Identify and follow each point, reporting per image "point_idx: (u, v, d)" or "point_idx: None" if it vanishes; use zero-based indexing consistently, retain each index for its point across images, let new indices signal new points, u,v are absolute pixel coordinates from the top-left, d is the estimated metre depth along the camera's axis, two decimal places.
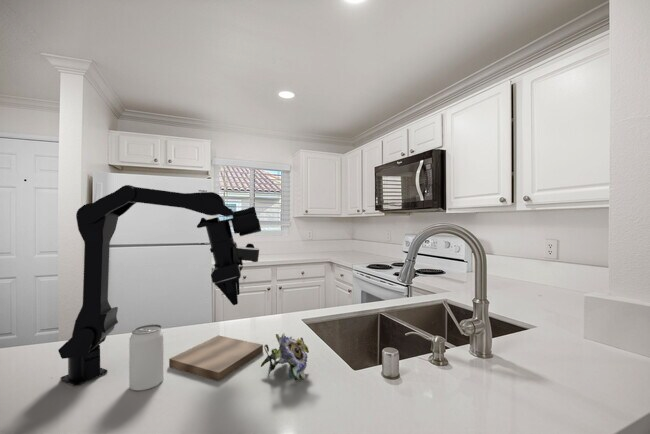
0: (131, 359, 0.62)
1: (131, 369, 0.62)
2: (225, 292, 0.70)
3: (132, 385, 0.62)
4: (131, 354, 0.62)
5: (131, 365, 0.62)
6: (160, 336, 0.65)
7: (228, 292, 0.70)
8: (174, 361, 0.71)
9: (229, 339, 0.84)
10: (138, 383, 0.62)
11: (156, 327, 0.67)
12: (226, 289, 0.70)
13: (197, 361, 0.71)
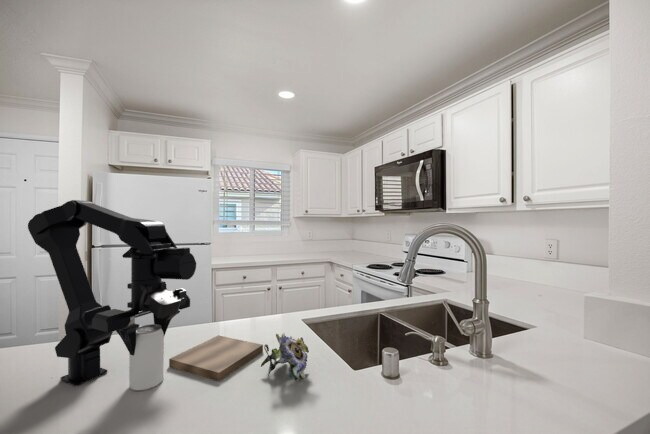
0: (131, 359, 0.62)
1: (131, 369, 0.62)
2: (122, 337, 0.62)
3: (132, 385, 0.62)
4: None
5: (131, 365, 0.62)
6: (160, 336, 0.65)
7: (124, 339, 0.61)
8: (174, 361, 0.71)
9: (229, 339, 0.84)
10: (138, 383, 0.62)
11: (156, 327, 0.67)
12: (123, 335, 0.61)
13: (197, 361, 0.71)
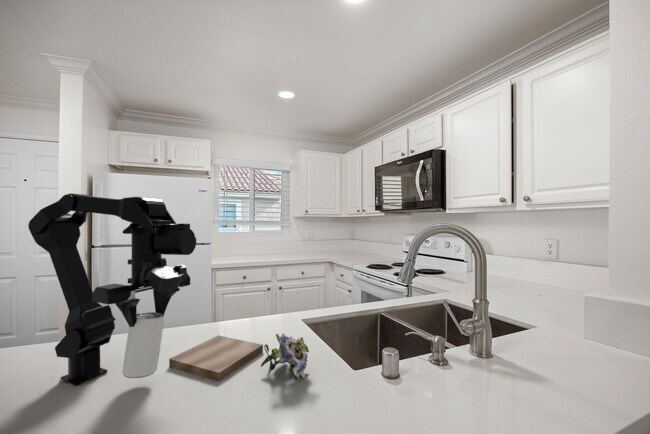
0: (128, 343, 0.62)
1: (126, 354, 0.61)
2: (123, 312, 0.62)
3: (125, 371, 0.61)
4: (129, 338, 0.62)
5: (127, 350, 0.62)
6: (159, 324, 0.64)
7: (125, 314, 0.62)
8: (174, 361, 0.71)
9: (229, 339, 0.84)
10: (131, 370, 0.61)
11: (157, 315, 0.67)
12: (124, 309, 0.62)
13: (197, 361, 0.71)
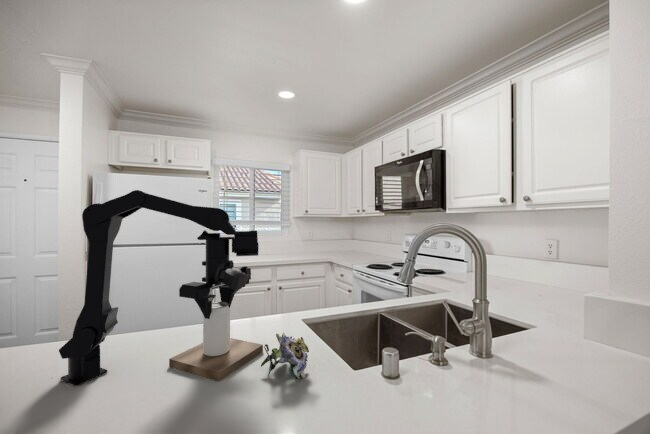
0: (205, 329, 0.73)
1: (205, 338, 0.73)
2: (200, 306, 0.73)
3: (206, 351, 0.73)
4: (205, 325, 0.73)
5: (205, 334, 0.73)
6: (228, 311, 0.75)
7: (202, 307, 0.73)
8: (174, 361, 0.71)
9: None
10: (212, 350, 0.73)
11: (223, 304, 0.78)
12: (201, 304, 0.73)
13: (197, 361, 0.71)
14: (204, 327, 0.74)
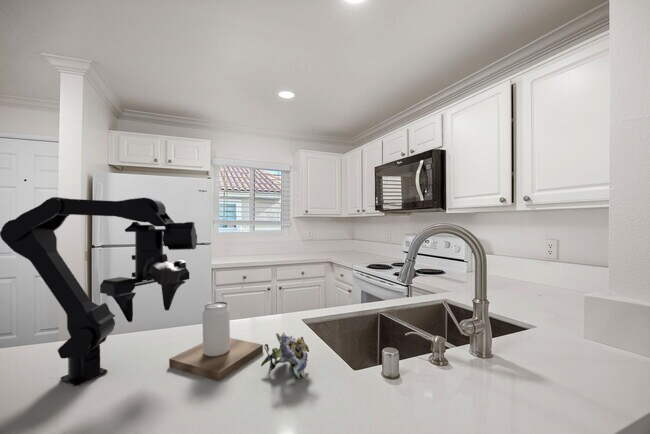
0: (205, 329, 0.73)
1: (205, 338, 0.73)
2: (120, 305, 0.66)
3: (206, 351, 0.73)
4: (204, 325, 0.73)
5: (205, 334, 0.73)
6: (227, 311, 0.75)
7: (122, 306, 0.66)
8: (174, 361, 0.71)
9: None
10: (211, 350, 0.73)
11: (223, 304, 0.78)
12: (121, 303, 0.66)
13: (197, 361, 0.71)
14: (203, 327, 0.74)
